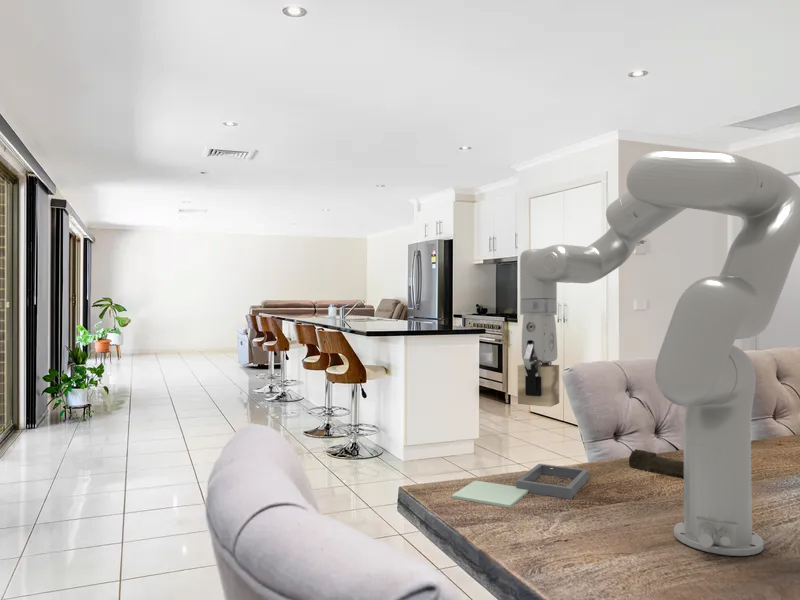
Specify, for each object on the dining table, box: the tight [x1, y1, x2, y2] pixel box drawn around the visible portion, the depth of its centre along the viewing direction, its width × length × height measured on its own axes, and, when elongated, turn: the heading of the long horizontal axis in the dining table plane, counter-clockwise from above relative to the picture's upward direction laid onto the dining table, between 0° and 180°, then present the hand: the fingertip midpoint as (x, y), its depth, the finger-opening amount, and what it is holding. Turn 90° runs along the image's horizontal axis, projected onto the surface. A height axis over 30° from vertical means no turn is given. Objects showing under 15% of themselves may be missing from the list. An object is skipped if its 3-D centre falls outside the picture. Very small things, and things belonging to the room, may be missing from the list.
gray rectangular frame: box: [515, 463, 589, 500], centre depth 125 cm, size 16×11×2 cm
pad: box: [451, 480, 528, 509], centre depth 118 cm, size 12×12×1 cm
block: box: [517, 363, 560, 408], centre depth 124 cm, size 6×7×8 cm
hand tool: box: [628, 448, 684, 478], centre depth 133 cm, size 19×4×5 cm, turn 40°
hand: (538, 393), depth 124 cm, fingers closed on block, 6 cm apart
